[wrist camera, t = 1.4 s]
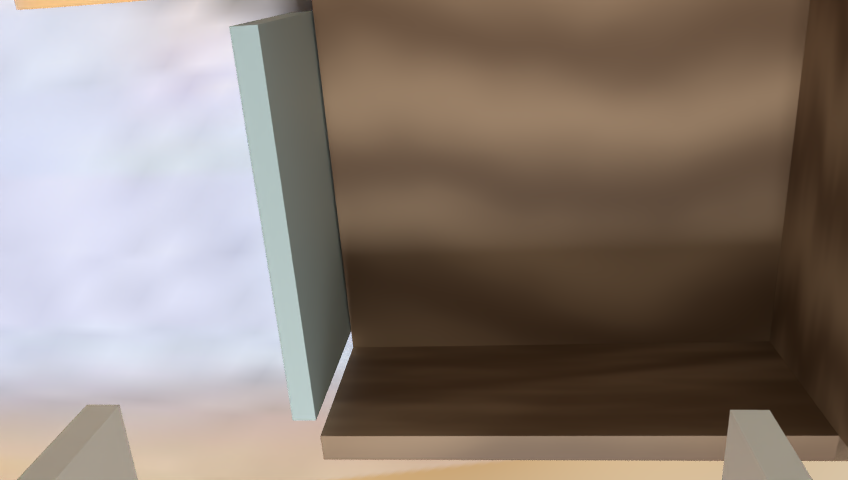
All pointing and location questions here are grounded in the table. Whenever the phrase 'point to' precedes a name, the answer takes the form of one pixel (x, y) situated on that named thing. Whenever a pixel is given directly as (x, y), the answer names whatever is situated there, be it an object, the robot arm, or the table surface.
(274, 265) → the panel
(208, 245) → the table surface
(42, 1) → the peach pillar candle
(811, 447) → the brown open rectangular box
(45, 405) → the table surface
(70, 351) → the table surface
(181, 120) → the table surface
